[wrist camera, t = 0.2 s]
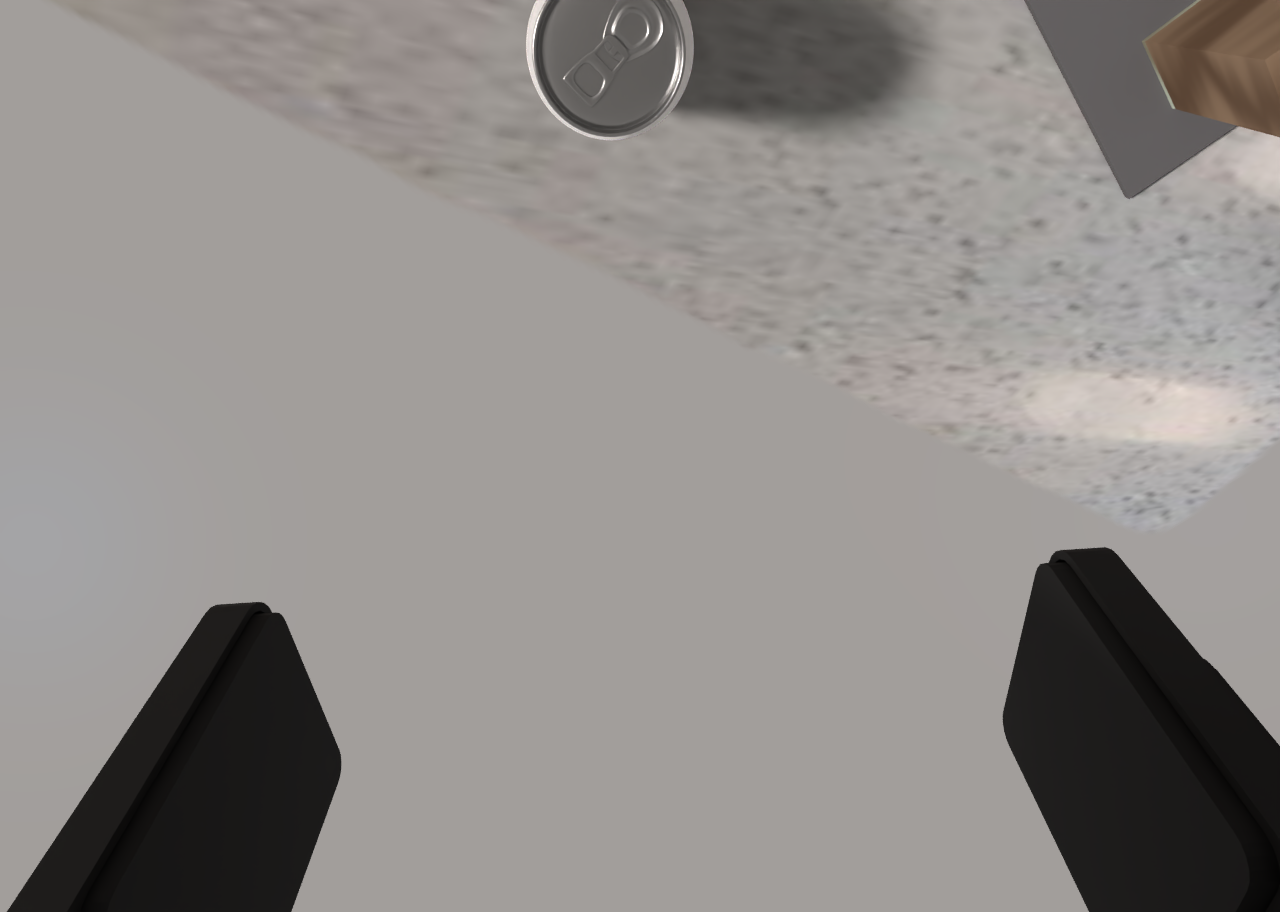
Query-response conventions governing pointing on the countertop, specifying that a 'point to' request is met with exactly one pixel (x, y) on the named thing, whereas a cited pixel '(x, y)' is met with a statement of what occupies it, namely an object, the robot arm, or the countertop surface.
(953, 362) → the countertop surface
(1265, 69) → the walnut block
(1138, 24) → the rubber mat
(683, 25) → the can
